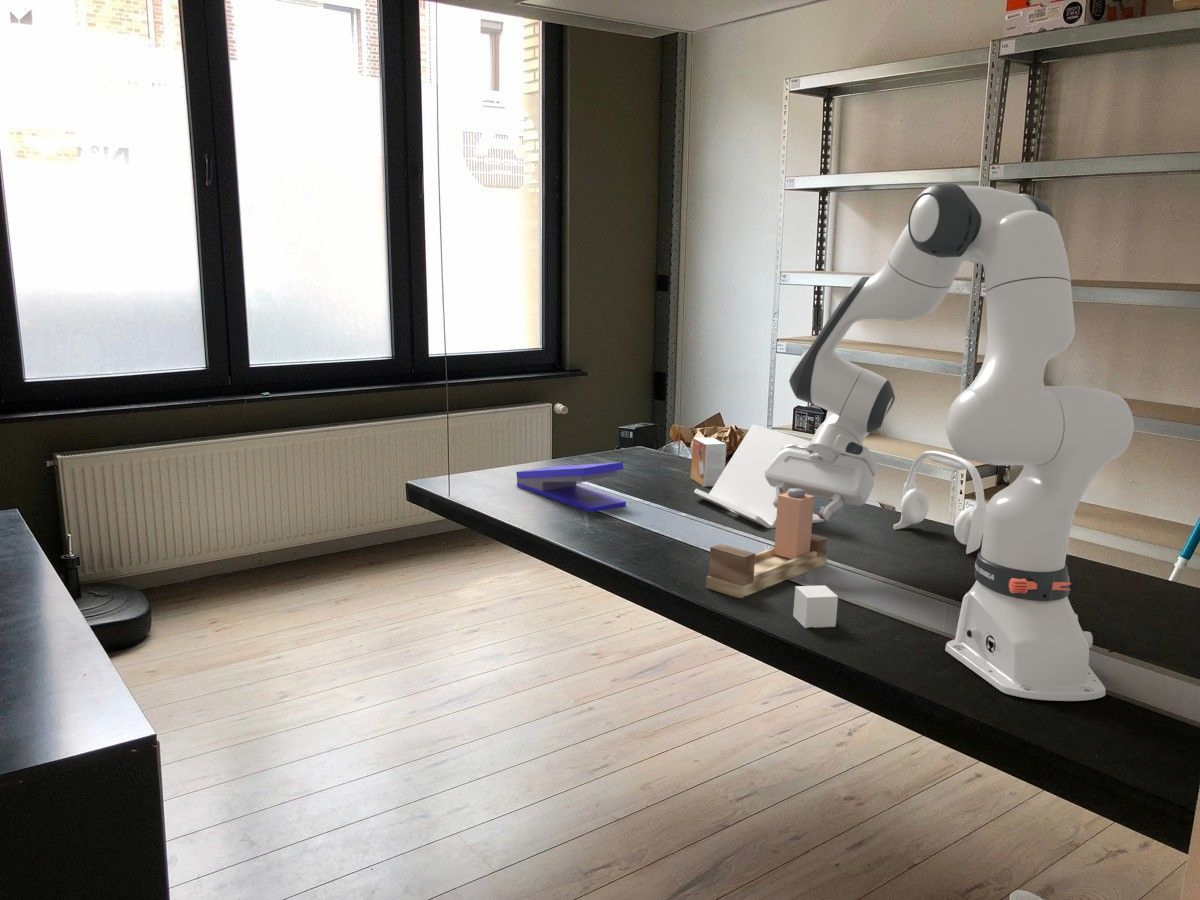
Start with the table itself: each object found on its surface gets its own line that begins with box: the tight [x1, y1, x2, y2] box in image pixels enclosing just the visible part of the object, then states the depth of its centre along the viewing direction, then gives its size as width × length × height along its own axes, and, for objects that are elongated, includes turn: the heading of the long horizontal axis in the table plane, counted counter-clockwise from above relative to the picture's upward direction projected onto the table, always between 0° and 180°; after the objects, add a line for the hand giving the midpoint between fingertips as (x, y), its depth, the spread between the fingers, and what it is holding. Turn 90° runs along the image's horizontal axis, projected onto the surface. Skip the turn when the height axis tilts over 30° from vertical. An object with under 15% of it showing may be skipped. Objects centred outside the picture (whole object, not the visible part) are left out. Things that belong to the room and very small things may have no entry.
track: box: [705, 533, 828, 599], centre depth 171 cm, size 27×7×7 cm, turn 136°
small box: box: [690, 437, 727, 488], centre depth 237 cm, size 8×6×10 cm
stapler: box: [516, 461, 627, 514], centre depth 221 cm, size 12×28×10 cm, turn 40°
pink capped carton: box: [774, 488, 815, 559], centre depth 175 cm, size 5×5×12 cm
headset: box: [892, 450, 987, 555], centre depth 194 cm, size 20×7×18 cm, turn 25°
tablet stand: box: [693, 423, 825, 529], centre depth 212 cm, size 18×25×17 cm
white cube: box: [792, 584, 839, 629], centre depth 150 cm, size 5×5×5 cm
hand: (799, 512), depth 175 cm, fingers open, 8 cm apart
